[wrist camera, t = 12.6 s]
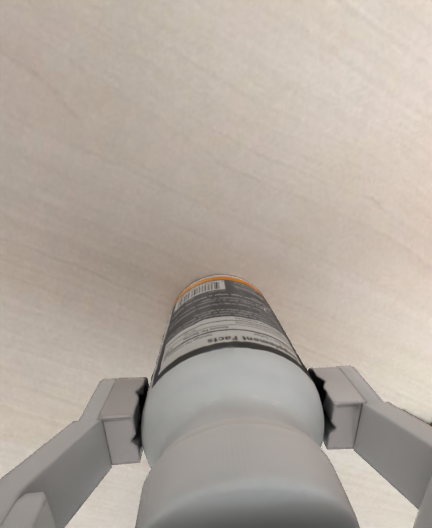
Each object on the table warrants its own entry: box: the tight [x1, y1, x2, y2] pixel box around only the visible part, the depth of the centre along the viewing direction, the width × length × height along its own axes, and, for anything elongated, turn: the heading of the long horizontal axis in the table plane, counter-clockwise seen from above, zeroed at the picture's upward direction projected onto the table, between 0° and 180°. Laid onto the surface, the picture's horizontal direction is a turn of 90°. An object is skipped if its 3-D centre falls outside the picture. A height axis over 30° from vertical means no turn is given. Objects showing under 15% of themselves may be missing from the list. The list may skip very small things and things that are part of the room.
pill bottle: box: [135, 275, 360, 528], centre depth 10 cm, size 6×6×10 cm
